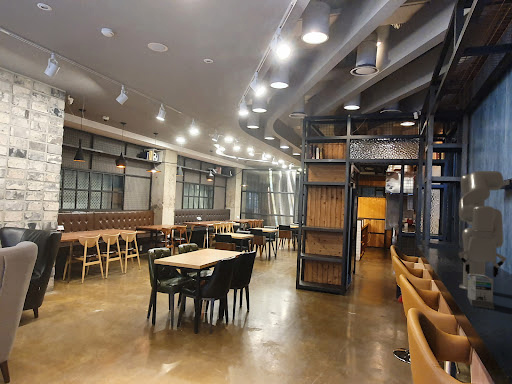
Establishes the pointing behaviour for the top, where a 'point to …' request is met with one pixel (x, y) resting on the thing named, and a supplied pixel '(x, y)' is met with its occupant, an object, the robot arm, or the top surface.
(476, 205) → the robot arm
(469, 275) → the light bulb box
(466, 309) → the top surface
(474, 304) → the tray
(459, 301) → the top surface
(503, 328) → the top surface
